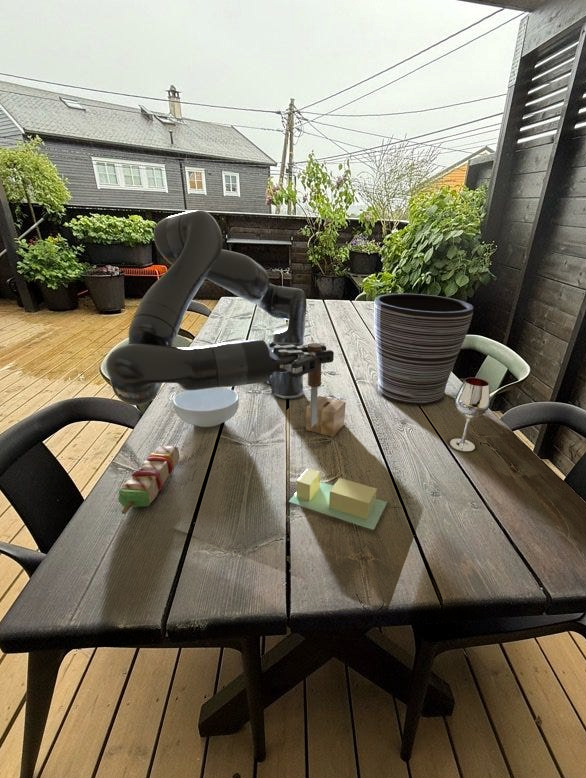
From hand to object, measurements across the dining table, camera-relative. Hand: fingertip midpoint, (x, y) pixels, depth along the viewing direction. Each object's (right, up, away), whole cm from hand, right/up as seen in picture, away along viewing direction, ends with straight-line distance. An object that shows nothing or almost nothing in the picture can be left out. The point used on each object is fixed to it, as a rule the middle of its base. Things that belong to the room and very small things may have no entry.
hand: (328, 353), depth 76 cm
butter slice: (-4, -28, +6) cm, 29 cm away
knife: (-3, -14, +6) cm, 15 cm away
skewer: (-37, -27, +6) cm, 46 cm away
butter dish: (+2, -30, +4) cm, 30 cm away
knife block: (-1, -15, +34) cm, 37 cm away
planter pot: (+27, -4, +60) cm, 66 cm away
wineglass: (+35, -20, +29) cm, 49 cm away
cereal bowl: (-34, -13, +34) cm, 50 cm away
